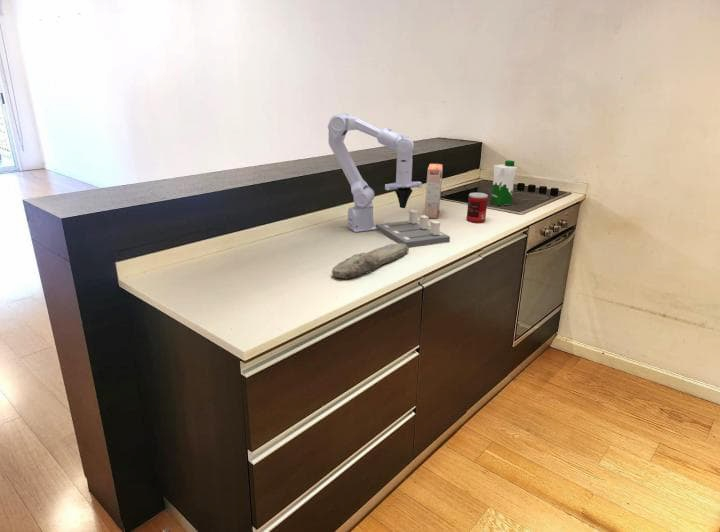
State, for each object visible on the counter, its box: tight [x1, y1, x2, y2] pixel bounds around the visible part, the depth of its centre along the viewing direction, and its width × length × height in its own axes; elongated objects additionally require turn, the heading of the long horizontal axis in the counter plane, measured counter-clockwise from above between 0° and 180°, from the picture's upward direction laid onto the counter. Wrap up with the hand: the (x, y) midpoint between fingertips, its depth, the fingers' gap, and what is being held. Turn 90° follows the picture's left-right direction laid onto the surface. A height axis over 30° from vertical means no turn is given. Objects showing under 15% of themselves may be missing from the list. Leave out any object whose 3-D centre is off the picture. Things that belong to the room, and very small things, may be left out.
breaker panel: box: [375, 219, 451, 249], centre depth 185 cm, size 18×24×2 cm
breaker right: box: [430, 220, 441, 235], centre depth 179 cm, size 2×3×4 cm
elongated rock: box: [331, 243, 410, 280], centre depth 157 cm, size 35×5×10 cm
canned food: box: [466, 192, 489, 224], centre depth 204 cm, size 8×8×11 cm
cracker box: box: [424, 163, 443, 220], centre depth 210 cm, size 14×6×21 cm, turn 168°
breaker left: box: [408, 209, 419, 224], centre depth 193 cm, size 2×3×4 cm
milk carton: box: [490, 160, 518, 206], centre depth 229 cm, size 9×9×20 cm
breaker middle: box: [418, 215, 430, 229], centre depth 186 cm, size 2×3×4 cm
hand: (402, 207), depth 187 cm, fingers closed
